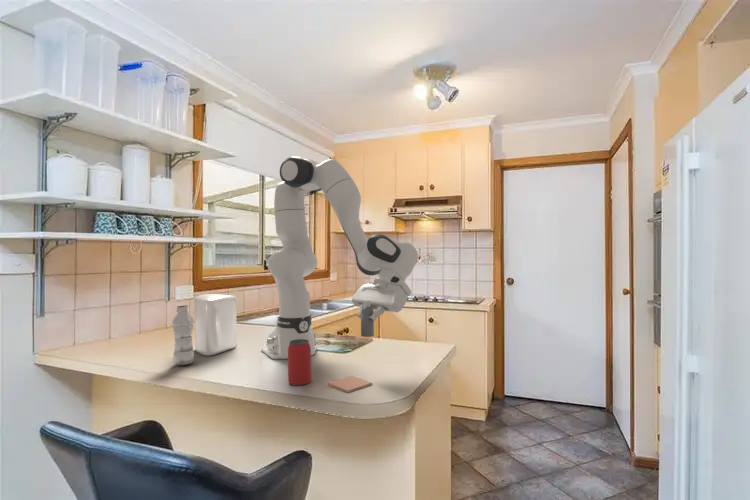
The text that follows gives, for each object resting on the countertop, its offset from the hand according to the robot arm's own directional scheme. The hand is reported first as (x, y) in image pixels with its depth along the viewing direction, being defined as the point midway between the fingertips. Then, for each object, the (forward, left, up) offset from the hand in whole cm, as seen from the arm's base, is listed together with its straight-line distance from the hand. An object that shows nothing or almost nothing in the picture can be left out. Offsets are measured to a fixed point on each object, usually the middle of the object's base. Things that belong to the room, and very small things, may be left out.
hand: (365, 318), depth 124 cm
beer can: (-8, -19, -17) cm, 27 cm away
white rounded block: (-65, -23, -17) cm, 71 cm away
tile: (+4, -10, -17) cm, 20 cm away
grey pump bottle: (0, +1, -5) cm, 5 cm away
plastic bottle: (-52, -37, -17) cm, 66 cm away
